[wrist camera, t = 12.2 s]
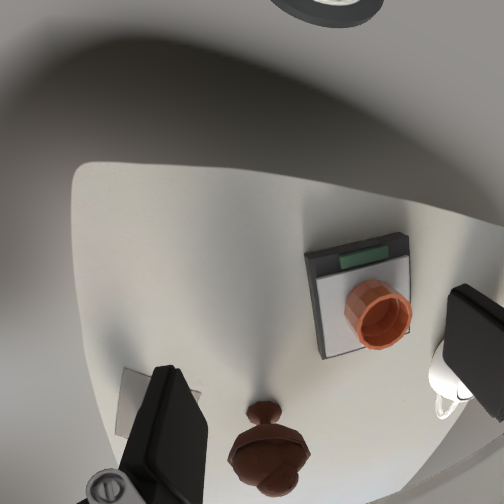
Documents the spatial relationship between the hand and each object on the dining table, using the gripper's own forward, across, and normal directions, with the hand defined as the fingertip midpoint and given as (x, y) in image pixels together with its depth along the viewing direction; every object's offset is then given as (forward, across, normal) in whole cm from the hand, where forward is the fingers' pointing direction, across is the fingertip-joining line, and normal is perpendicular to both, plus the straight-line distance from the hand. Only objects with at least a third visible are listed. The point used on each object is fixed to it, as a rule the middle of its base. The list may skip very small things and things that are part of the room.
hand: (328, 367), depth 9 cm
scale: (+26, -10, +12) cm, 30 cm away
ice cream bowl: (+26, +6, +29) cm, 39 cm away
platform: (+26, +24, +26) cm, 44 cm away
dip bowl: (+23, -10, +12) cm, 28 cm away
